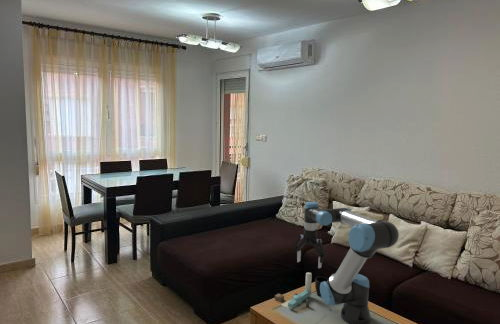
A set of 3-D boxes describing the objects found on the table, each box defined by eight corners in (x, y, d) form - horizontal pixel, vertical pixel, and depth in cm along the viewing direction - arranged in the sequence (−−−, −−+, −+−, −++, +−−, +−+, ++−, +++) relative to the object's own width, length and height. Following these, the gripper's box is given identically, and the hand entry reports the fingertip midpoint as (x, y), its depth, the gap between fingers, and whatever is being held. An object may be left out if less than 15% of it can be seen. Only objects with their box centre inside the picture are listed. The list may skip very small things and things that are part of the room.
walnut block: (284, 295, 207) (278, 293, 209) (280, 297, 204) (274, 295, 207) (283, 301, 207) (278, 299, 210) (280, 303, 204) (274, 301, 207)
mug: (335, 298, 212) (336, 283, 211) (315, 297, 213) (316, 282, 212) (333, 292, 220) (334, 277, 219) (314, 290, 221) (314, 276, 220)
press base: (312, 307, 201) (312, 298, 201) (302, 315, 193) (302, 306, 192) (290, 299, 210) (290, 290, 209) (280, 306, 201) (280, 298, 200)
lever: (312, 294, 211) (313, 273, 210) (293, 309, 194) (294, 286, 193) (305, 292, 214) (306, 271, 212) (286, 306, 197) (287, 283, 196)
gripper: (333, 231, 202) (331, 268, 205) (295, 223, 217) (293, 257, 220) (327, 234, 196) (326, 272, 199) (288, 226, 211) (287, 261, 214)
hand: (309, 264), depth 209 cm, fingers open, 13 cm apart
